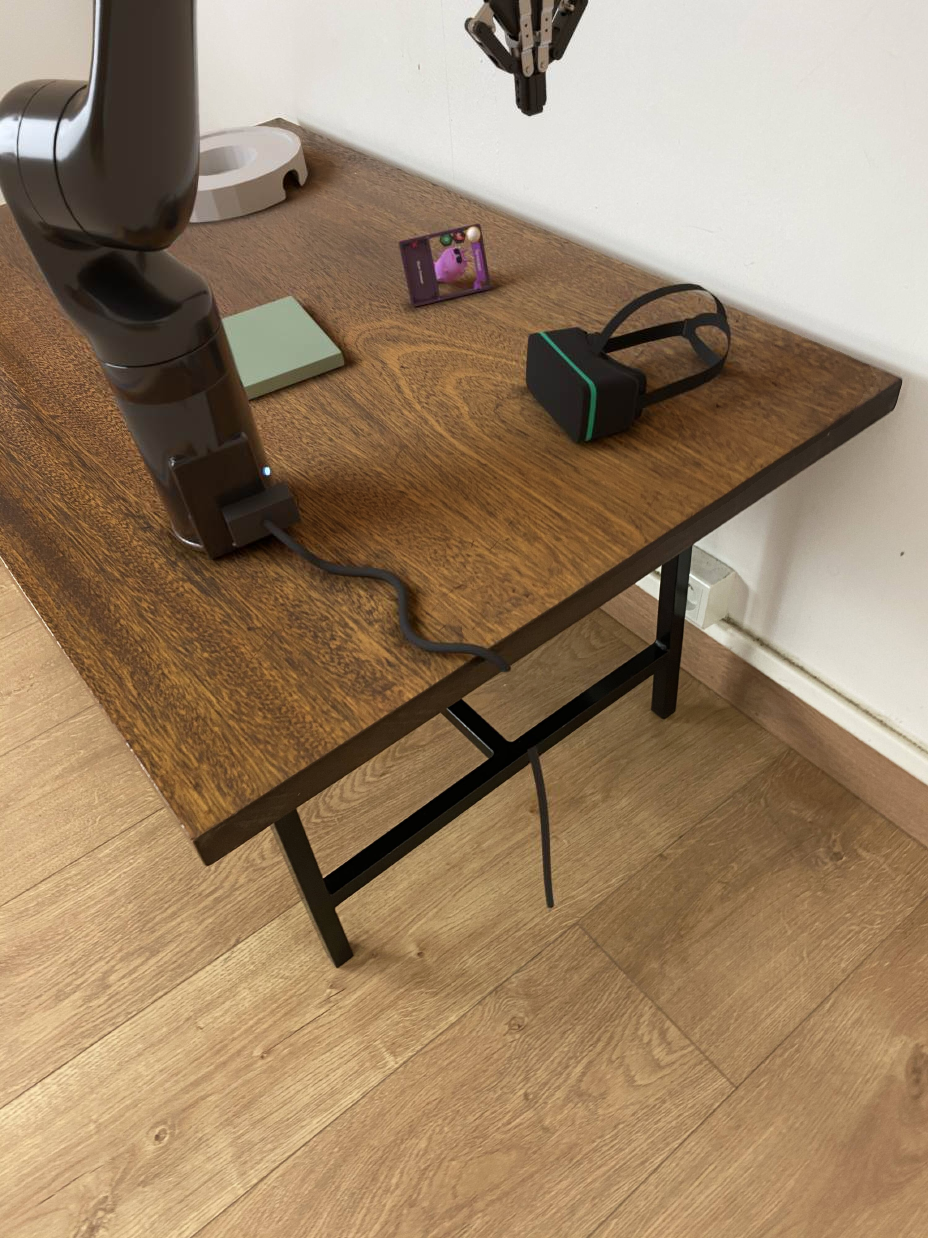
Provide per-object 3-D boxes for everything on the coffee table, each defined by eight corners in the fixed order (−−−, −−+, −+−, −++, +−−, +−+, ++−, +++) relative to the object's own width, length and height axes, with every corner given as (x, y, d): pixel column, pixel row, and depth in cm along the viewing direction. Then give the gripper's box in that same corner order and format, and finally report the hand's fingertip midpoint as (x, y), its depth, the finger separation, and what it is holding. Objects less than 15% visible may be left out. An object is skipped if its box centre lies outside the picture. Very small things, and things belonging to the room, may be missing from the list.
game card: (399, 241, 95) (481, 223, 96) (392, 239, 99) (471, 221, 100) (413, 307, 98) (492, 289, 99) (406, 302, 102) (482, 284, 103)
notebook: (344, 364, 92) (341, 351, 91) (243, 402, 89) (238, 389, 88) (294, 307, 102) (291, 294, 100) (201, 339, 99) (197, 326, 98)
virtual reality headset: (524, 386, 85) (530, 282, 78) (679, 354, 89) (698, 253, 82) (578, 447, 78) (590, 339, 71) (744, 410, 82) (770, 304, 75)
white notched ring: (288, 142, 138) (281, 113, 135) (325, 194, 123) (318, 163, 120) (138, 179, 134) (128, 150, 132) (157, 237, 119) (146, 206, 116)
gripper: (475, -79, 76) (493, 140, 89) (607, -112, 79) (606, 104, 92) (436, -89, 81) (458, 120, 93) (562, -120, 84) (567, 87, 97)
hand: (532, 112), depth 93 cm, fingers closed
